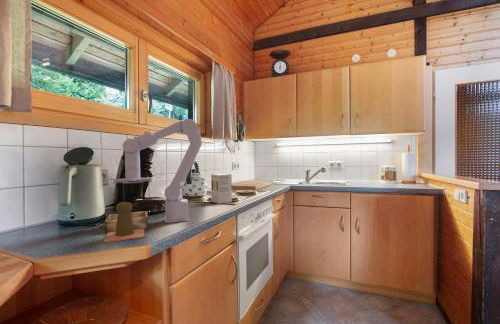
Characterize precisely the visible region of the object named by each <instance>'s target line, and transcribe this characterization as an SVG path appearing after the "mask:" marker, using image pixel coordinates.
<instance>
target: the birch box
mask: <svg viewBox="0 0 500 324" xmlns="http://www.w3.org/2000/svg"><path fill="white" fill-rule="evenodd" d="M117 216H118V213H114V214H113V213H112V214H111V213H110V214H108V216H107V217H106V219H105V221H104V233H106V234H107V233H110V232H116V224H117ZM131 216H132V221H133V227H134V230H136V229H148V228H149V222H148V221H149V219H148V218H149V216H148V210H147V211H146V210H145V211H135V212H131Z"/></svg>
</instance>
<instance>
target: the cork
mask: <svg viewBox="0 0 500 324" xmlns="http://www.w3.org/2000/svg"><path fill="white" fill-rule="evenodd" d="M132 210H133V204H132V203H131V202H127V201H121V202H119V203H117V204H116V206H115V211H116V212H117V214H118V216H117V224H116V231H115V232H116V233H115V235H116V236H127V235H131V234H133V233H134V230H135V229H134V227H133V221H132V216H131V213H132Z"/></svg>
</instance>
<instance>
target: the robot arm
mask: <svg viewBox="0 0 500 324" xmlns="http://www.w3.org/2000/svg"><path fill="white" fill-rule="evenodd" d="M174 134H182V135H184V134H185V135H186V137H187V139H188V141H189V145H188V147H187V150H186V152H185V154H184V156H183V158H182V160H181V162H180V165H179V167H178V169H177V170H176V173H175V175H174V177H173V179H172V180H171V182H170V184H169V185H168V186H167V187H166V188H165V189H164V197H165V198H164V201H165V203H164V205H165V207H164V208H165V217H164V218H163V220H164V223H165V224H171V223H179V222H187V221H190V219H189V202H188V201H189V200H188V199H187V198H184V197H183V196H182V193H183V187H184V184H185V181H186V179H187V177H188V175H189V173H190V171H191V168H192V166H193V164H194V162H195V160H196V158H197V156H198V153H199V151H200V149H201V148H202V145H203V141H202V135H201V130H200V128H199V126H198V124H197V122H196V121H195V120H194V119H192V118H186V119H184V120H179V121H177V122H174V123H173V124H170V125H168V126H166V127H164V128H162V129H160V130H158V131H156V132H153V131H152V130H151V131H148V130H147V131H144V132H143V134H140V135H138V136H133V138H127V139H126V140H124V142H123V143H122V150H123V151H124V169H125V175H124V177H125V178H113V179H112V180H113V181H112V182H113V183H112V184H113V185H115V186H116V188H117V190H118V192H119V194H120V197H121V202H126V200H125V184H140V183H142V201H145V196H146V192H147V189H148V187H149V184H150V183H153V178H152V177H141V157H140V155H141V154H140V152H141V151H142V150H145V149H147V148H150V147H153V146H155V145H157V144H158V141H159V140H160V139H163V138H166V137H168V136H171V135H174Z"/></svg>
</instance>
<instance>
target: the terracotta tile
mask: <svg viewBox="0 0 500 324" xmlns="http://www.w3.org/2000/svg"><path fill="white" fill-rule="evenodd" d="M115 233H116V231H114V232H107V233H106V236H105V238H104V240H103V244H105V243H106V244H107V243H112V242H120V241H121V242H122V241H128V240H137V239H143V238H145V228H141V229H134V233H133V234H131V235H127V236H116V235H115Z"/></svg>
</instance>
